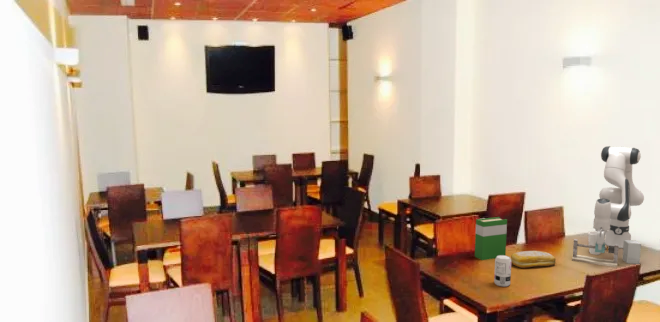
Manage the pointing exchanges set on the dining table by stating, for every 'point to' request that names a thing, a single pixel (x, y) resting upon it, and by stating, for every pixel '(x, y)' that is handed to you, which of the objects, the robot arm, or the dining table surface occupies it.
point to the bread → (532, 259)
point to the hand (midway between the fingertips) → (600, 248)
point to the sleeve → (601, 249)
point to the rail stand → (592, 259)
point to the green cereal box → (490, 238)
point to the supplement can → (502, 270)
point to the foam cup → (592, 242)
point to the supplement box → (631, 251)
